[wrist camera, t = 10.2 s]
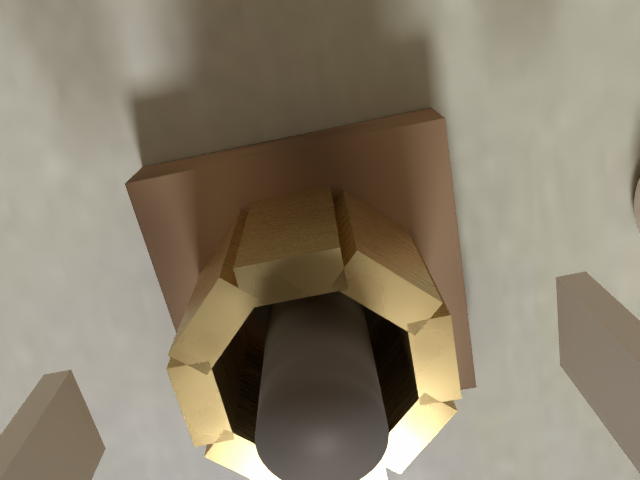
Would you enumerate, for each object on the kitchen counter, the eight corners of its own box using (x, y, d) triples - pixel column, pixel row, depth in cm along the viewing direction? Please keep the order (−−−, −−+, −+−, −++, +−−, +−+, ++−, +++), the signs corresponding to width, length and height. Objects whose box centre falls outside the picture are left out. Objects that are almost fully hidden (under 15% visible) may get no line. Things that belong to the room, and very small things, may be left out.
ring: (236, 398, 21) (217, 510, 16) (179, 216, 18) (136, 287, 13) (431, 362, 20) (470, 466, 16) (403, 171, 18) (439, 228, 13)
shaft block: (219, 401, 23) (171, 622, 15) (141, 167, 19) (19, 284, 11) (461, 356, 23) (555, 557, 14) (430, 107, 19) (532, 182, 10)
